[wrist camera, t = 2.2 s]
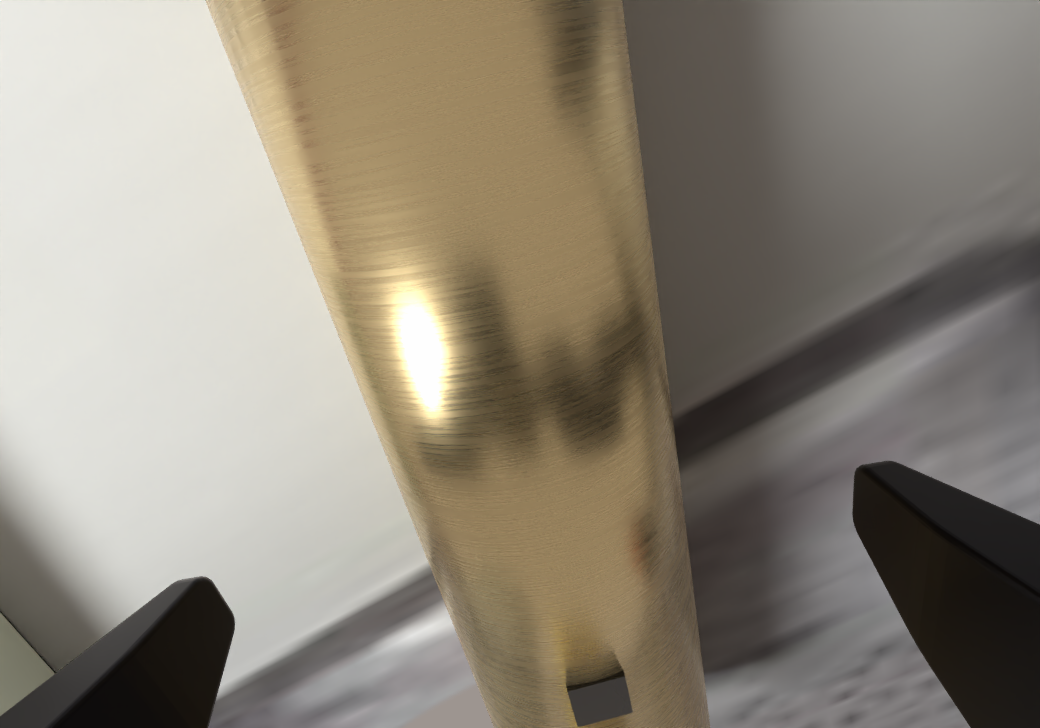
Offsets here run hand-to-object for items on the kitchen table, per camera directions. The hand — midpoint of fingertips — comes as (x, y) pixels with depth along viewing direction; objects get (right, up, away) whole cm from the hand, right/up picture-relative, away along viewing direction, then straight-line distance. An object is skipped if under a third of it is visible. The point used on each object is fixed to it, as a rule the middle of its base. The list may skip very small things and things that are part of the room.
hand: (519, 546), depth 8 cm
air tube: (0, +2, +5) cm, 5 cm away
